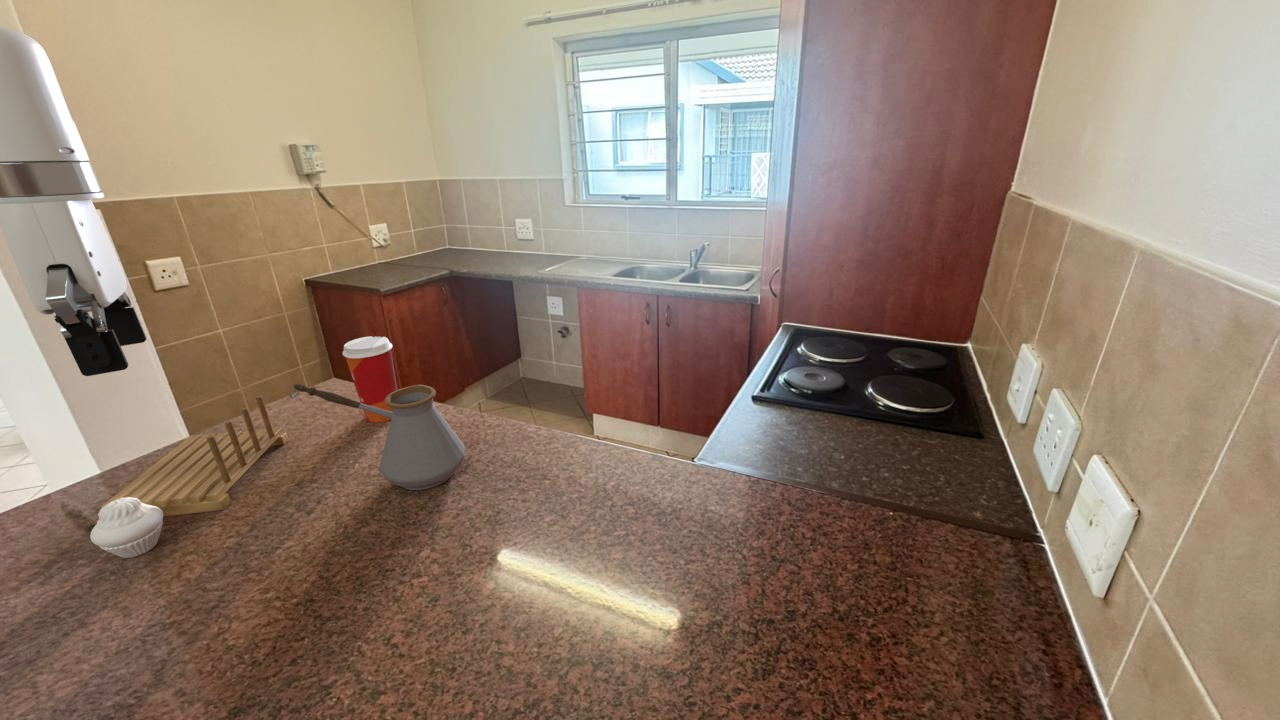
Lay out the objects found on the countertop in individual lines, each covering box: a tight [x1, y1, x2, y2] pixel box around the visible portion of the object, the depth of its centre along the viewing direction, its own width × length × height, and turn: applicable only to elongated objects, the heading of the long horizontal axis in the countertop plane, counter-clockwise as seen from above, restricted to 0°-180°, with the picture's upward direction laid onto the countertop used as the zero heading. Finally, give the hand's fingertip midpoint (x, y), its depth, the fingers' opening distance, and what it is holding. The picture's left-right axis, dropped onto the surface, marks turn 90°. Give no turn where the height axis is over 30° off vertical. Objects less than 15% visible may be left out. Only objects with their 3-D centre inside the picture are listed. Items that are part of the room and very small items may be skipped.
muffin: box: [89, 497, 164, 559], centre depth 59 cm, size 6×6×7 cm
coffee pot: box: [289, 383, 467, 491], centre depth 70 cm, size 21×12×15 cm, turn 92°
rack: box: [99, 395, 289, 518], centre depth 72 cm, size 14×18×10 cm
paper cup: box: [341, 335, 398, 424], centre depth 87 cm, size 8×8×14 cm
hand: (118, 357), depth 52 cm, fingers open, 9 cm apart
